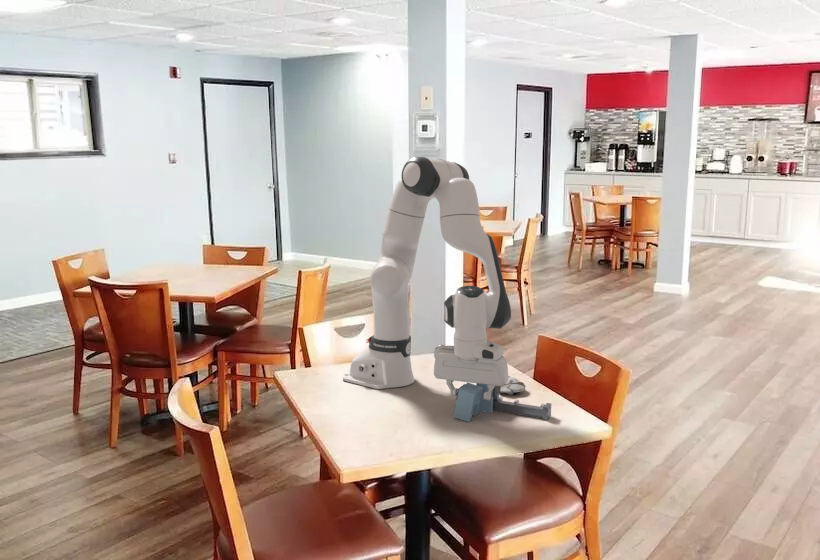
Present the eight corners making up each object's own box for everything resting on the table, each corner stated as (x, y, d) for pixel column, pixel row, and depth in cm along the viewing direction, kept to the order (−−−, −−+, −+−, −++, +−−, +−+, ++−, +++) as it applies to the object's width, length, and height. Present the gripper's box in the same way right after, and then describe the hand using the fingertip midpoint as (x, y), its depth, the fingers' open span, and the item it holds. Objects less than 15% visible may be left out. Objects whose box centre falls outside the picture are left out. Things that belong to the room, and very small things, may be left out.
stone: (530, 396, 221) (530, 385, 220) (501, 398, 218) (501, 387, 218) (515, 383, 232) (515, 373, 231) (487, 385, 230) (487, 375, 229)
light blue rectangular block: (475, 410, 208) (476, 382, 206) (483, 403, 213) (484, 376, 212) (493, 413, 206) (494, 385, 204) (500, 406, 211) (501, 378, 210)
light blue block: (451, 416, 201) (456, 388, 199) (460, 408, 207) (465, 381, 205) (469, 422, 199) (474, 394, 197) (477, 414, 205) (483, 387, 203)
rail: (466, 407, 210) (466, 394, 210) (470, 403, 214) (471, 391, 213) (547, 420, 201) (547, 407, 200) (550, 416, 204) (551, 403, 203)
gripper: (429, 347, 201) (430, 396, 204) (503, 354, 193) (503, 405, 195) (438, 341, 207) (438, 389, 209) (510, 348, 199) (509, 398, 201)
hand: (470, 397), depth 202 cm, fingers open, 8 cm apart
